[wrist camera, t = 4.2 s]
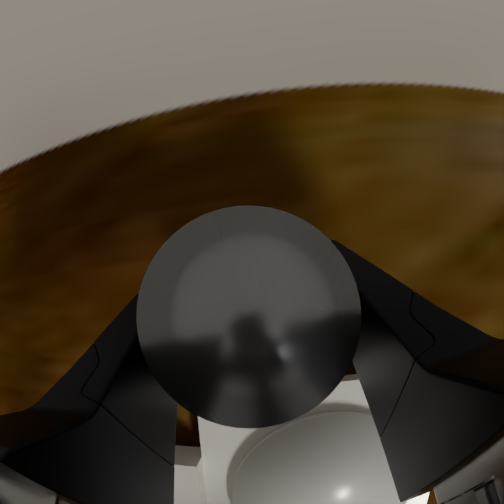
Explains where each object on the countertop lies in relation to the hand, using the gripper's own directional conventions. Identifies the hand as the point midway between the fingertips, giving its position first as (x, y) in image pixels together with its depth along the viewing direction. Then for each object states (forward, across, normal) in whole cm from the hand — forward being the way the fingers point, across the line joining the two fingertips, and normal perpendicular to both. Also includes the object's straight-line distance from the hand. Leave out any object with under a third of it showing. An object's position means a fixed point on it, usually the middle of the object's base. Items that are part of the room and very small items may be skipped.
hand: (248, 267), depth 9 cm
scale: (-3, -1, +13) cm, 14 cm away
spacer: (+4, 0, +6) cm, 7 cm away
